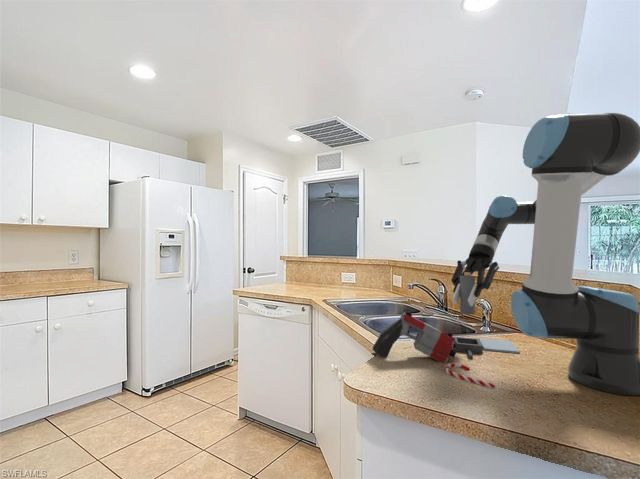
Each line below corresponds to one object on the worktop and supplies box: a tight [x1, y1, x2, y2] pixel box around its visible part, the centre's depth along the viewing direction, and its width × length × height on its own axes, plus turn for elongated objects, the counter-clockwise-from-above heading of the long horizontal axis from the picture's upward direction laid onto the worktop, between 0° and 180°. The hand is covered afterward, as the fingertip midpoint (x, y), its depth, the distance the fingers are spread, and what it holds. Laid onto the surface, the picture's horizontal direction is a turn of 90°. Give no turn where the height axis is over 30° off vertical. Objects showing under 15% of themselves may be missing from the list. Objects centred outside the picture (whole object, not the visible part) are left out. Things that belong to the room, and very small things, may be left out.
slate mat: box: [478, 337, 521, 355], centre depth 110 cm, size 12×10×1 cm
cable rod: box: [459, 271, 476, 315], centre depth 107 cm, size 4×4×13 cm
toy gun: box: [372, 310, 457, 363], centre depth 99 cm, size 5×22×15 cm, turn 78°
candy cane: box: [443, 362, 496, 389], centre depth 85 cm, size 8×1×15 cm
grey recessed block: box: [453, 336, 484, 360], centre depth 104 cm, size 14×8×2 cm, turn 162°
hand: (462, 302), depth 105 cm, fingers closed on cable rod, 4 cm apart
